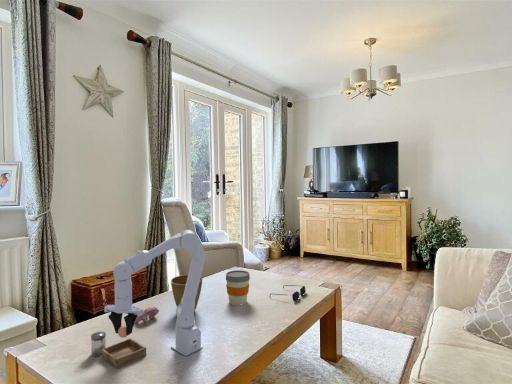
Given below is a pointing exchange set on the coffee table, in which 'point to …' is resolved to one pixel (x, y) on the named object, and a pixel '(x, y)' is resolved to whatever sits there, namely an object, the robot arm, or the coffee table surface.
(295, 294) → the sunglasses
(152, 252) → the robot arm
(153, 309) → the video game controller
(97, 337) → the shaker
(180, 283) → the plant pot
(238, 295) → the reusable coffee cup
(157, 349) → the coffee table surface
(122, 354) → the tray
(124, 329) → the ball
